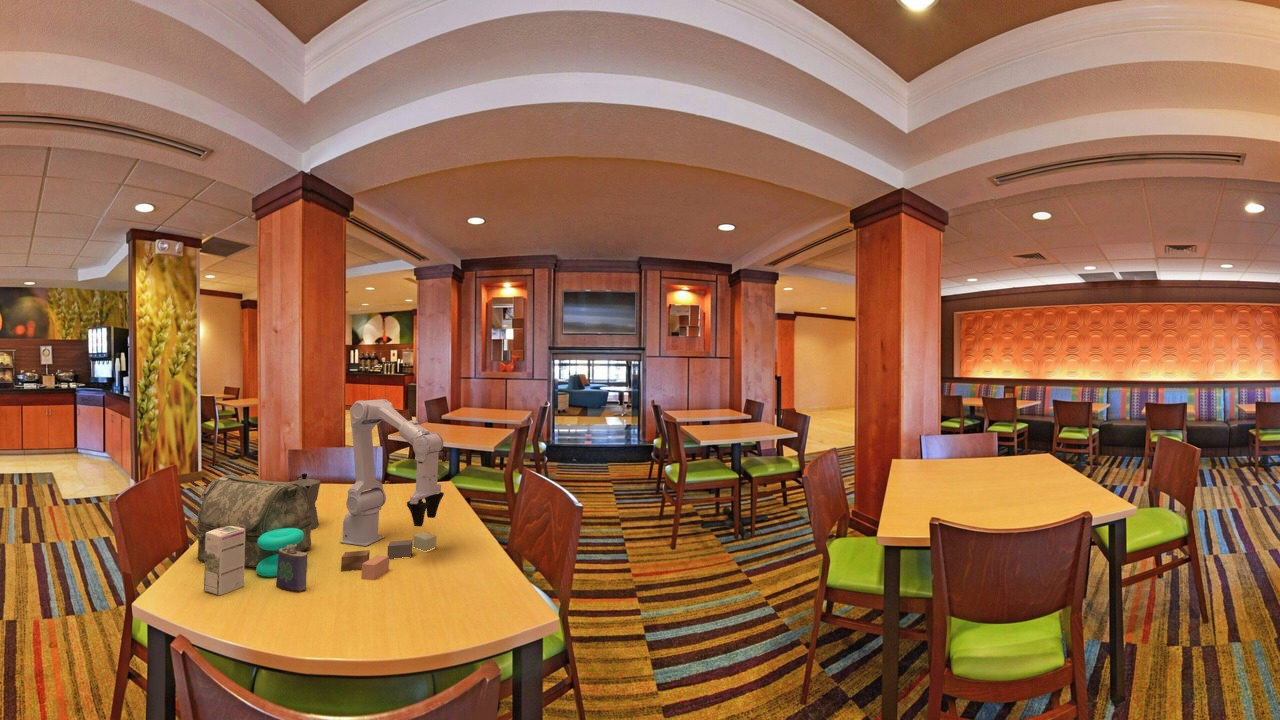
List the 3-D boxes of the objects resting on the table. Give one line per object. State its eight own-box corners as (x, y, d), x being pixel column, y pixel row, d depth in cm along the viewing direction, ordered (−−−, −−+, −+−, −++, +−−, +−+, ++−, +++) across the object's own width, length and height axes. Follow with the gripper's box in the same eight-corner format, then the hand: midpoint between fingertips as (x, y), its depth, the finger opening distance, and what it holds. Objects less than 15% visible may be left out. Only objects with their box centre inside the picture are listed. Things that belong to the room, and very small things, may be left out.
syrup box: (245, 586, 120) (247, 527, 120) (217, 596, 114) (220, 535, 114) (229, 582, 121) (232, 524, 122) (201, 592, 116) (204, 531, 116)
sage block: (435, 549, 147) (436, 536, 147) (425, 553, 144) (425, 539, 144) (423, 545, 150) (424, 532, 150) (413, 548, 147) (413, 535, 147)
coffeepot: (323, 530, 159) (325, 475, 159) (288, 536, 152) (290, 479, 152) (313, 518, 170) (315, 466, 170) (280, 523, 163) (282, 470, 163)
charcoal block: (387, 560, 138) (387, 546, 138) (389, 555, 142) (390, 541, 142) (410, 558, 140) (410, 544, 140) (411, 553, 143) (412, 540, 143)
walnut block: (340, 572, 130) (341, 557, 130) (344, 566, 133) (345, 552, 133) (366, 569, 131) (366, 555, 132) (369, 564, 135) (369, 550, 135)
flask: (308, 589, 119) (310, 545, 119) (296, 594, 117) (298, 549, 117) (284, 581, 123) (285, 539, 123) (271, 586, 120) (273, 543, 120)
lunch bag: (181, 561, 132) (184, 481, 132) (247, 538, 150) (250, 467, 150) (259, 573, 127) (263, 490, 127) (318, 548, 144) (321, 474, 144)
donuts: (287, 524, 135) (313, 529, 132) (285, 560, 135) (311, 566, 132) (248, 536, 126) (275, 542, 123) (246, 574, 126) (273, 581, 123)
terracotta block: (373, 580, 125) (374, 565, 125) (361, 579, 126) (362, 563, 126) (388, 570, 131) (389, 556, 131) (376, 569, 132) (377, 555, 132)
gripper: (428, 482, 135) (425, 530, 135) (451, 470, 149) (449, 514, 149) (403, 480, 135) (401, 529, 135) (429, 469, 150) (427, 513, 150)
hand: (425, 521), depth 142 cm, fingers open, 7 cm apart
